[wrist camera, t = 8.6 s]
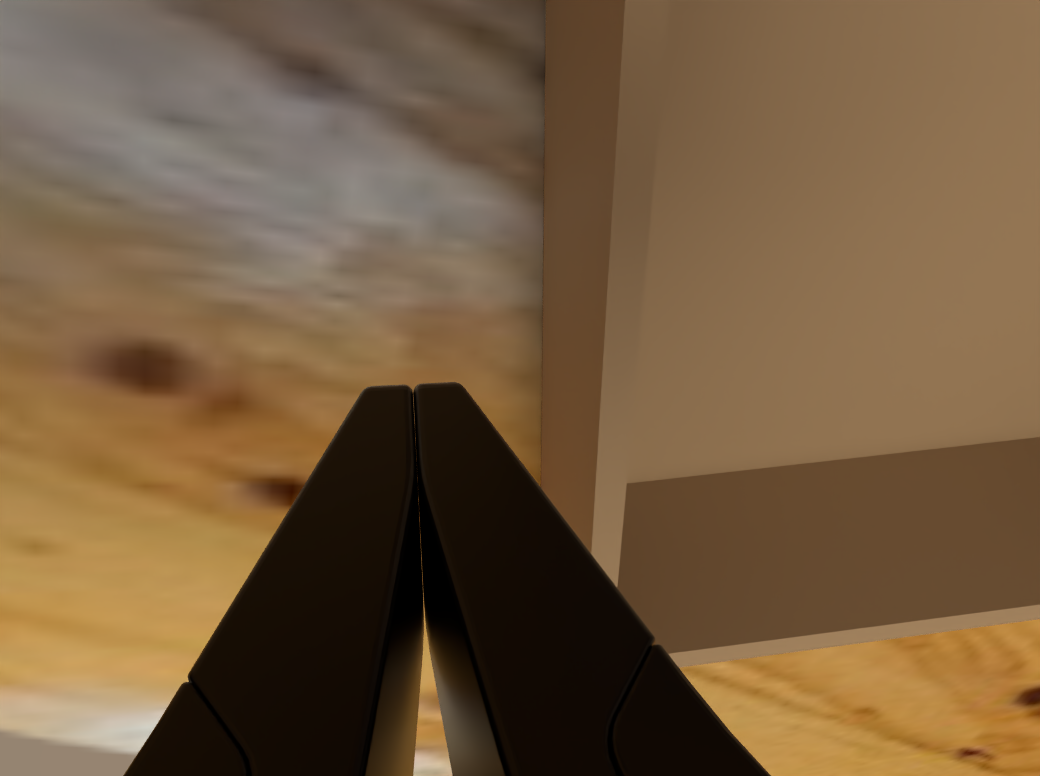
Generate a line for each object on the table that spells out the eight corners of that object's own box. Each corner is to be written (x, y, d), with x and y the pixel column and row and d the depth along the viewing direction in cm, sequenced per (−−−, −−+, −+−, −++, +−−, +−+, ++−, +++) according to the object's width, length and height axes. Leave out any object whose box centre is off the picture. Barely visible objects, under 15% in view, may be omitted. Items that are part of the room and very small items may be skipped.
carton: (540, 492, 27) (583, 680, 23) (555, -927, 12) (700, -1237, 7) (1081, 431, 29) (1221, 594, 24) (1717, -873, 13) (2435, -1098, 9)
